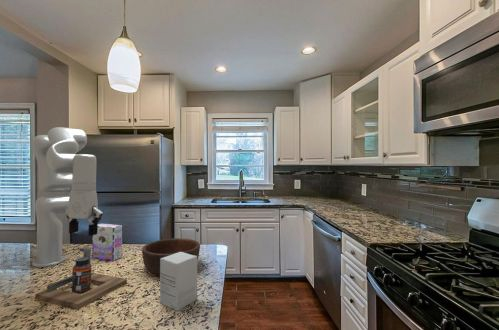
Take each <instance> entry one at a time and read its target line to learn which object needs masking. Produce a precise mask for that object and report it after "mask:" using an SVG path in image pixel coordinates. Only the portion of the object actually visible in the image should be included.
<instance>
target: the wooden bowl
mask: <svg viewBox="0 0 499 330" xmlns="http://www.w3.org/2000/svg"><path fill="white" fill-rule="evenodd" d="M200 249H201V243H199V242H198V241H197V240H194V239H190V238H177V237H175V238H165V239H158V240H155V241H151V242H149V243H146V244H145V245H144V246H143V247H142V249H141V255H142V261H143V264H144V267H145V270H146V271H147V272H148V273H149V274H150V275H152V276H155V277H160V258H164V257H167V256H170V255H172V254H175V253H178V252H184V253H187V254H190V255H194V256H197V261H198V260H199V257H200V251H201V250H200Z"/></svg>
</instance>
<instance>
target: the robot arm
mask: <svg viewBox="0 0 499 330" xmlns="http://www.w3.org/2000/svg"><path fill="white" fill-rule="evenodd" d="M87 142H88V137H87V134H86V132H85V131H84V130H83V129H80V128H73V127H72V128H71V127H61V126H57V127H52V128H51V129H50V130H49V131H48V132H47V134H38V135H36V136H34V137H33V140H32V151H33V154H34V157H35V158H36V161H37V166H38V187H39V191H41V192H42V193H61V192H62V193H65V192H66V194H51V195H50V194H49V195H43V196H40V197H38V198H37V199H36V201H35V204H34V207H35V213H36V224H37V225H36V231H37V232H36V253H34V254H33V257H35V260H34V261H32V263H31V266H32V267H35V268H42V267H43V268H45V267H46V268H47V267H52V266H56V265H59V264H62V263H64V262H66V260H67V257H66V256H64V255H63V231H64V230H63V229H64V228H63V226H64V225H63V223H62V220H61V219H59V218H58V217H57V216H60V215H66V218H67V219H68V220H67V222H68V233H69V234H74V233H77V232H79V221H78V220H83V221H84V220H87V221H88V222H89V224H88V233H87V235H88V237H91V236H92V235H96V234H97V231H98V224H100V221H101V220H102V216H103V214H104V213H103V212H102V211H101V210H100V209H99V204H98V203H99V202H98V201H99V200H98V193H97V157H96V155H94V154H85V153H78V152H80V151H81V150H83V148H85V146H86V145H87ZM77 153H78V154H77Z"/></svg>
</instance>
